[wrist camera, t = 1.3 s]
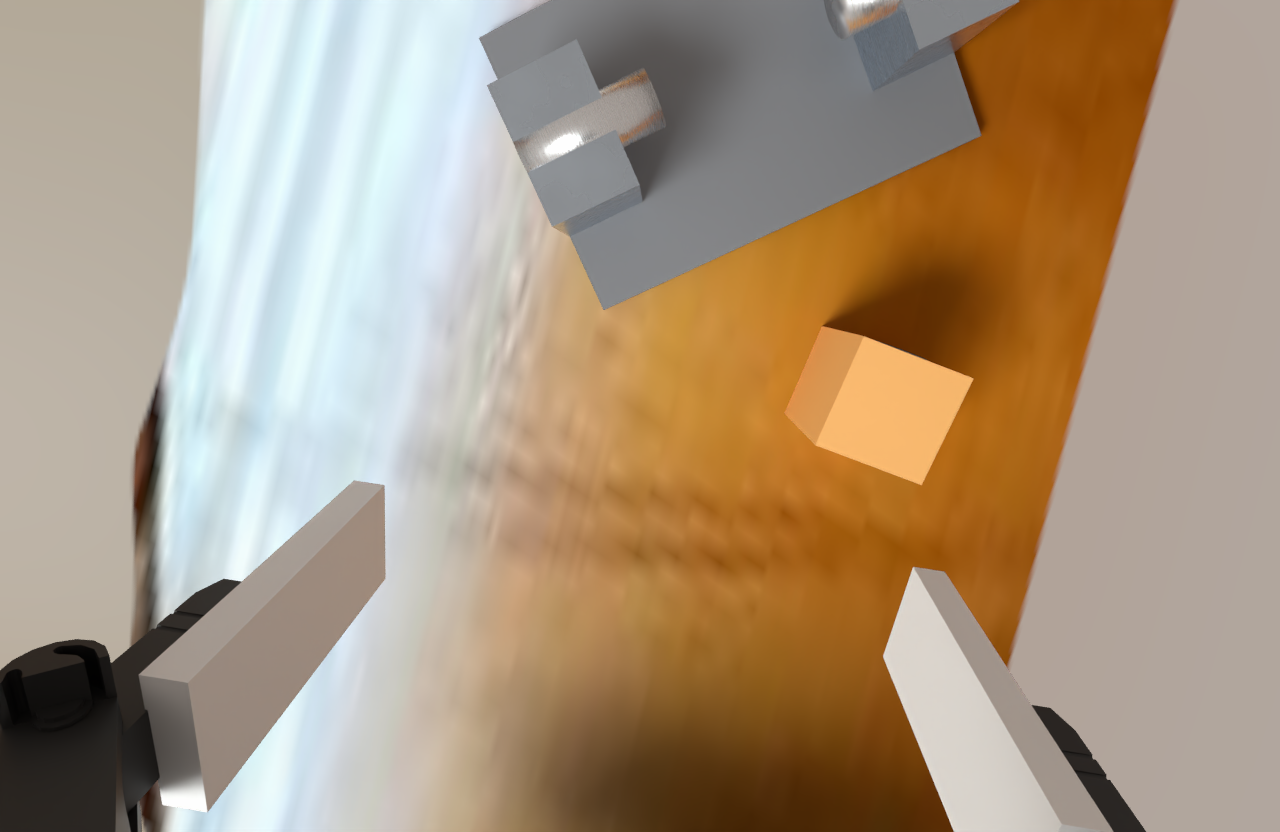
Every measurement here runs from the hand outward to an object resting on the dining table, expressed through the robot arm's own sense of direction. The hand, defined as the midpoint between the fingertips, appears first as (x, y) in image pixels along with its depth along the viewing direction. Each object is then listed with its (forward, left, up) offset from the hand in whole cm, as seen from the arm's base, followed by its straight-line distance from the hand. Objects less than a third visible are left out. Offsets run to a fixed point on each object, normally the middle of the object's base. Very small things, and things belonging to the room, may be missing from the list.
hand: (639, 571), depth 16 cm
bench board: (+13, -10, -19) cm, 25 cm away
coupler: (-3, -10, -19) cm, 22 cm away
